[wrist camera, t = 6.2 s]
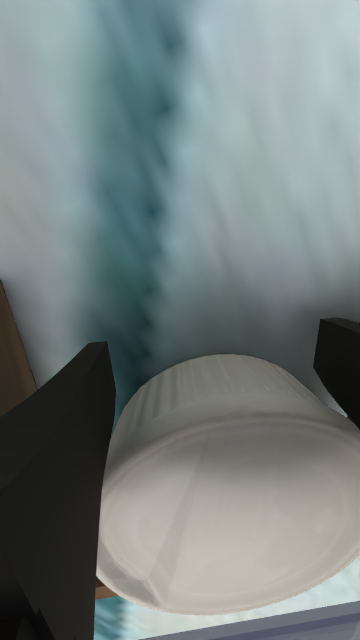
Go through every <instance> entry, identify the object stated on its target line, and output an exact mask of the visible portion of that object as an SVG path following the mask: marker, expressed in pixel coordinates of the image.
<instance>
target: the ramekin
mask: <svg viewBox="0 0 360 640" xmlns="http://www.w3.org/2000/svg"><path fill="white" fill-rule="evenodd" d="M359 555H360V430H359V429H358V427H357V426H356V425H355V424H354V423H353V422H351V421H350V420H349V419H347V418H346V417H344V416H343V415H341V414H340V413H338V412H336V411H334V410H333V409H330V408H328V407H327V406H326V405H325V404H324V403H323V402H322V401H321V400H320V399H319V398H318V397H316V396H315V395H314V394H313V393H312V392H311V391H310V390H308V389H307V388H306V387H305V386H304V385H303V384H302V383H300V382H299V381H298V380H297V379H296V378H294V377H293V376H292V375H291V374H290V373H289V372H287V371H286V370H284V369H282V368H280V367H279V366H277V365H276V364H273V363H269V362H268V361H266V360H264V359H260V358H254V357H251V356H247V355H237V354H216V355H209V356H202V357H199V358H195V359H190V360H187V361H185V362H182V363H179V364H176V365H174V366H173V367H171V368H168V369H166V370H164V371H162V372H161V373H160V374H158V375H156V376H154V377H153V378H151V379H150V380H149V381H148V382H147V383H146V384H144V385H143V386H141V387H140V388H139V390H138V391H137V392H136V393H135V394H134V395H133V396H132V397H131V399H130V401H129V402H128V403H127V405H126V406H125V407H124V409H123V411H122V414H121V416H120V417H119V419H118V421H117V424H116V427H115V429H114V432H113V435H112V437H111V440H110V444H109V450H108V455H107V461H106V466H105V472H104V478H103V485H102V496H101V509H100V522H99V537H98V553H97V571H96V576H97V577H98V578H99V579H100V580H101V581H102V582H103V583H104V584H105V585H106V586H107V587H108V588H109V589H111V590H112V591H113V592H115V593H116V594H118V595H119V596H121V597H123V598H125V599H127V600H129V601H131V602H133V603H136V604H138V605H141V606H144V607H147V608H151V609H154V610H159V611H163V612H169V613H176V614H186V615H218V614H228V613H235V612H240V611H248V610H251V609H255V608H260V607H264V606H267V605H270V604H273V603H277V602H280V601H283V600H285V599H288V598H291V597H293V596H296V595H298V594H301V593H303V592H305V591H307V590H309V589H311V588H313V587H315V586H317V585H319V584H321V583H322V582H324V581H326V580H327V579H329V578H331V577H332V576H334V575H335V574H337V573H338V572H340V571H341V570H343V569H344V568H345V567H347V566H348V565H349V564H350V563H351V562H352V561H353V560H354V559H355V558H357V557H358V556H359Z"/></svg>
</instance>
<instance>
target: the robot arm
mask: <svg viewBox="0 0 360 640" xmlns="http://www.w3.org/2000/svg"><path fill="white" fill-rule="evenodd" d="M313 367H314V369H315V371H316V373H317V374H318V376H319V378H320V380H321V381H322V383H323V385H324V386H325V388H326V389H327V391H328V392H329V393H330V394H331V396H332V397H333V398H334V399H335V401H336V402H337V403H338V404H339V406H340V407H341V408H342V409H343V410H344V412H345V413H346V414H347V415H348V416H349V418H350V419H351V420H352V421H353V423H354V424H355V425H356V426H357V427H358V429H359V430H360V323H358V322H354V321H350V320H347V319H342V318H327V319H320V324H319V331H318V338H317V344H316V351H315V358H314V364H313ZM115 398H116V388H115V382H114V377H113V371H112V366H111V360H110V355H109V349H108V344H107V341H104V342H95V343H89V344H87V345H86V346H85V347H84V348H83V349H82V350H81V351H80V352H79V353H78V354H77V355H76V356H75V357H74V358H73V359H72V360H71V361H70V362H69V363H68V364H67V365H66V366H65V367H63V368H62V369H61V370H60V371H59V372H58V373H57V374H56V375H55V376H54V377H52V378H51V379H50V380H49V381H48V382H47V383H45V384H44V385H43V386H42V387H41V388H40V389H38V390H37V391H36V392H35V393H33V394H32V395H31V396H30V397H28V398H27V399H26V400H24V401H23V402H21V403H20V404H19V405H17V406H16V407H14V408H13V409H11V410H10V411H9V412H7V413H5V414H4V415H2V416H1V417H0V640H93V639H94V612H95V590H96V571H97V553H98V537H99V522H100V509H101V496H102V485H103V478H104V472H105V466H106V461H107V455H108V450H109V444H110V439H111V433H112V427H113V422H114V416H115ZM140 640H360V601H356V602H350V603H345V604H339V605H333V606H327V607H322V608H316V609H310V610H305V611H299V612H293V613H288V614H282V615H276V616H271V617H265V618H259V619H253V620H248V621H242V622H236V623H231V624H225V625H219V626H214V627H208V628H202V629H197V630H191V631H185V632H179V633H174V634H168V635H162V636H157V637H151V638H145V639H140Z"/></svg>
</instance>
